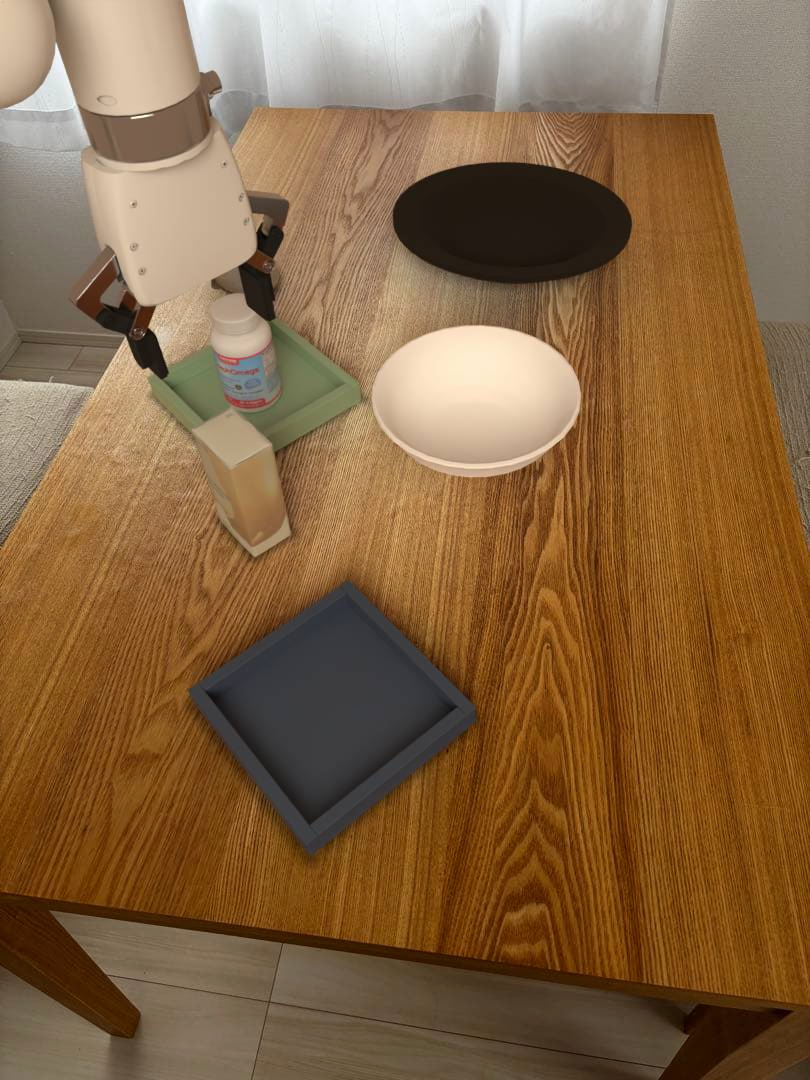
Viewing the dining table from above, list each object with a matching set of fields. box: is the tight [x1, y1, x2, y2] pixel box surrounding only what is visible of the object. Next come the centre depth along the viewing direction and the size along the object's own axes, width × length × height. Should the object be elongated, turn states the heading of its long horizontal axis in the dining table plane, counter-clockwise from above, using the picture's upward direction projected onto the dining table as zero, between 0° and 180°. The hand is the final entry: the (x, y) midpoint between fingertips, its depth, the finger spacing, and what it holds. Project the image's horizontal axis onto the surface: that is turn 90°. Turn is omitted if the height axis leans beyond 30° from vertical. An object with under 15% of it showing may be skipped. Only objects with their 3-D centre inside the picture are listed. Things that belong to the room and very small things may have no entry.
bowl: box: [370, 324, 582, 478], centre depth 84 cm, size 20×20×6 cm
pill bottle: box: [209, 293, 282, 413], centre depth 87 cm, size 6×6×11 cm
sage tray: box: [147, 315, 363, 453], centre depth 91 cm, size 16×16×2 cm
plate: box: [392, 161, 633, 285], centre depth 104 cm, size 28×24×6 cm
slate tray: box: [187, 579, 477, 857], centre depth 68 cm, size 16×16×2 cm
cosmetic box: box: [191, 407, 292, 558], centre depth 76 cm, size 6×4×12 cm
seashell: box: [210, 266, 281, 295], centre depth 103 cm, size 8×3×8 cm
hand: (210, 340), depth 67 cm, fingers open, 9 cm apart
